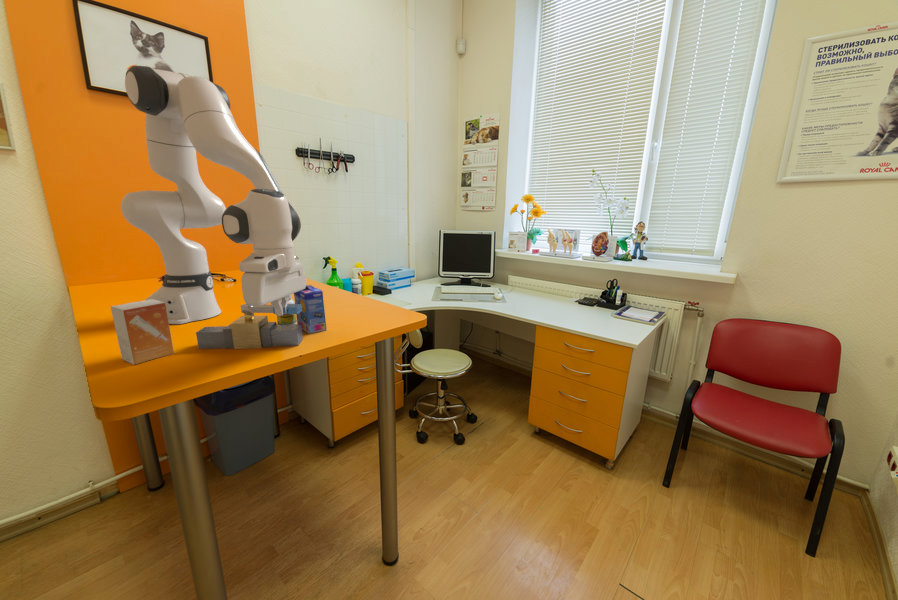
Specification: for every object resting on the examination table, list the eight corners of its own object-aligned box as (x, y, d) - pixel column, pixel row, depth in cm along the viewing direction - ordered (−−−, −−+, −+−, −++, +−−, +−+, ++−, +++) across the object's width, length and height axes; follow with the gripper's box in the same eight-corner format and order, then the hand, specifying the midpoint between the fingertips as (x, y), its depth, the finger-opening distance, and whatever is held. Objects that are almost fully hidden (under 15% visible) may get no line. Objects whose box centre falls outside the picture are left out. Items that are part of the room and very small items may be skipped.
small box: (134, 365, 79) (122, 310, 76) (121, 359, 82) (109, 305, 79) (175, 353, 86) (165, 301, 83) (162, 348, 89) (152, 298, 86)
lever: (238, 313, 89) (238, 306, 89) (245, 310, 92) (244, 303, 92) (297, 314, 89) (296, 307, 89) (302, 310, 92) (301, 304, 92)
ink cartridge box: (295, 325, 108) (291, 279, 104) (313, 322, 111) (310, 277, 108) (308, 334, 101) (304, 284, 97) (327, 330, 104) (323, 282, 101)
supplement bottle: (294, 320, 112) (292, 291, 110) (298, 325, 108) (295, 295, 106) (276, 323, 109) (273, 293, 107) (279, 328, 105) (275, 297, 103)
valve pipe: (196, 350, 88) (190, 317, 86) (209, 341, 94) (204, 310, 92) (297, 347, 91) (294, 315, 89) (303, 338, 97) (301, 308, 95)
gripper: (288, 254, 95) (293, 303, 99) (233, 265, 76) (241, 326, 79) (310, 254, 94) (314, 304, 98) (260, 266, 75) (267, 328, 78)
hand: (281, 314), depth 88 cm, fingers closed
